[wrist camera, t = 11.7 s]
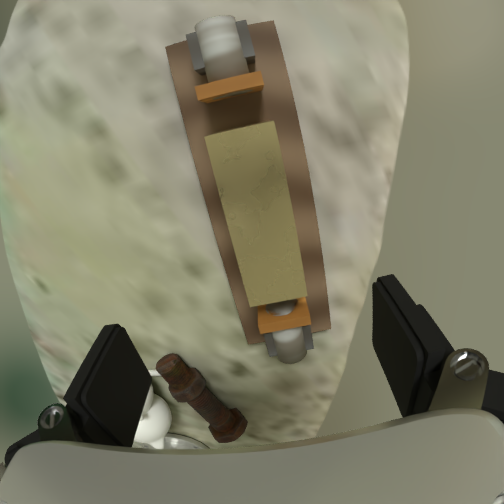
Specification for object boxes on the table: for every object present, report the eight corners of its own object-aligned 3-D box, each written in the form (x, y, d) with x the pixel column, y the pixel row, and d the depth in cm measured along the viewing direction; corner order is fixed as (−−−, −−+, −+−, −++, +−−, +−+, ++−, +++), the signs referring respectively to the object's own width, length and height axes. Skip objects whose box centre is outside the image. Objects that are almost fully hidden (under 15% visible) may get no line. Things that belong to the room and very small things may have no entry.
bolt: (176, 338, 37) (237, 407, 42) (145, 361, 35) (210, 426, 40) (187, 358, 32) (253, 429, 37) (151, 384, 30) (224, 450, 35)
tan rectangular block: (269, 120, 23) (274, 120, 18) (298, 263, 28) (307, 296, 23) (214, 132, 24) (204, 136, 19) (250, 273, 29) (250, 307, 24)
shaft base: (328, 320, 33) (340, 358, 27) (248, 335, 34) (247, 375, 28) (272, 25, 21) (277, 1, 15) (169, 50, 22) (147, 34, 16)
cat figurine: (95, 410, 27) (139, 463, 32) (177, 375, 32) (207, 433, 36) (87, 367, 35) (124, 422, 39) (156, 339, 39) (183, 397, 44)
